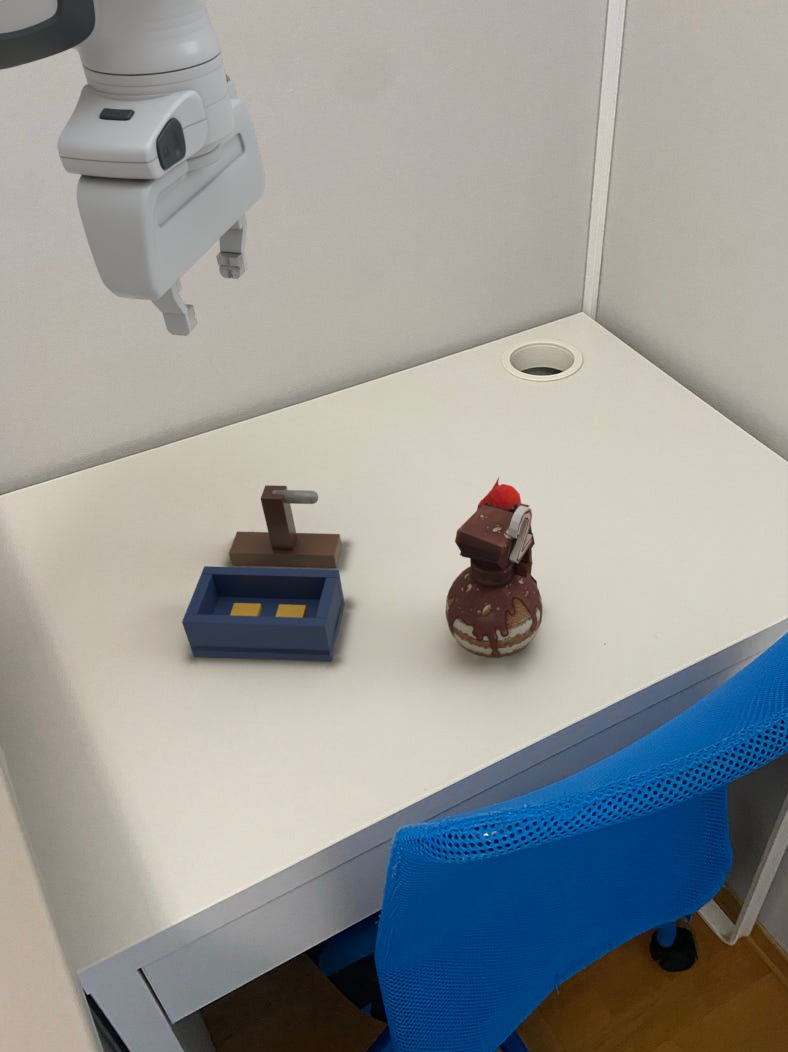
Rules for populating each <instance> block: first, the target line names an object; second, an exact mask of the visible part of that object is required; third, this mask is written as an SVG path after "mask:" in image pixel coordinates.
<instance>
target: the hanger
mask: <svg viewBox="0 0 788 1052" xmlns="http://www.w3.org/2000/svg"><path fill="white" fill-rule="evenodd" d="M318 501H319V494H318V492H316V491H315V490H305V489H303V490H302V489H301V490H300V489H288V486H287V485H269V484H268V485H267V484H265V485H264V488H263V490H262V493H261V496H260V502H261V503H260V504H261V507H262V512H263V516H264V519H265V524H266V529H267V531H236V533H235V535H234V539H233V541H232V544H231V547H230V549H229V551H228V555H229V558H230V562H231V565H232V566H259V567H262V566H263V567H296V568H297V567H301V568H334V569H335V568H337V567H338V562H339V558H340V554H341V551H342V538H341V534H340V533H316V532H315V533H313V532H297V529H296V525H295V519H294V515H293V510H292V504H294V505H314V504H317V502H318Z"/></svg>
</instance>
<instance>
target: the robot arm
mask: <svg viewBox="0 0 788 1052" xmlns="http://www.w3.org/2000/svg"><path fill="white" fill-rule="evenodd" d="M70 49H72V50H73V49H74V50H76V51H77V52H78V55H79V59H80V62H81V67H82V69H83V72H84V75H85V79H86V83H87V84H86V83H85V84H84V86H83V87H82V89H81V91H80V94H79V96H78V97H79V98H78V100H77V102H76V105H75V107H74V110H73V111H72V113H71V115H70V117H69V119H68V121H67V123H66V124H65V125H64V127H63V129H62V131H61V132H60V134H59V136H58V139H57V151H58V155H59V158H60V161H61V164H62V166H63V168H64V170H65V171H66V172H67V173H69V174H73V175H79V179H78V181H77V186H76V201H77V208H78V212H79V216H80V220H81V224H82V227H83V230H84V234H85V237H86V241H87V243H88V247H89V250H90V252H91V256H92V258H93V262H94V264H95V267H96V269H97V273H98V276H99V278H100V279H101V282H102V284H103V285H104V286H105V287H106V288H107V289H108V291H110V292H111V293H112V294H113V295H115V296H116V297H119V298H122V299H131V300H139V301H140V300H141V301H151V302H152V304H153V305H154V306H155V307H156V308H157V309H158V311H160V313H162V316H163V320H164V324H165V327H166V330H167V331H168V333H169V334H171V335H172V336H181V337H187V336H189V335H190V333H191V332H192V331H193V330H194V329H195V328H196V327H197V326H198V325H197V324H198V319H197V317H196V311H195V306H194V304H188V303H186V302H184V300H183V298H182V297H181V295H180V294H179V293H180V292H181V291H183V290H182V289H183V287H182V286H183V285H182V282H181V278H182V277H183V276H184V275H185V274H186V273H187V272H188V271H189V270H190V269H191V268H192V267H193V266H194V265H195V264H196V263H197V262H198V261H199V260H200V259H201V258H202V257H203V256H204V255H205V254H206V253H207V252H208V251H210V249H211V248H212V247H213V246H214V245H215V244H216V243H217V242H218V241H219V252H218V254H216V256H215V257H216V261H217V262H216V263H217V265H218V267H219V268H218V269H219V274H220V276H221V277H222V278H225V279H233V280H239V279H240V278H241V277H242V276H243V275H244V274H245V273H246V272H247V270H248V263H247V258H246V252H245V249H246V241H247V229H248V222H247V216H246V213H247V212H248V211H249V210H250V209H251V208H252V207H253V206H254V205H255V204H256V203H257V202H258V201H259V200H260V199H261V198H262V197H263V195H264V194H265V187H266V186H265V183H266V174H265V169H264V163H263V159H262V155H261V150H260V146H259V142H258V138H257V134H256V130H255V127H254V123H253V120H252V116H251V113H250V111H249V108H248V107H247V105H246V103H245V102H244V101H243V100H242V99H240V98H239V96H238V91H237V87H236V84H235V82H234V80H232V79H231V78H230V76H229V75H228V74H226V70H225V63H224V60H223V59H224V58H223V53H222V48H221V44H220V40H219V38H218V35H217V33H216V31H215V28H214V27H213V25H212V21H211V18H210V16H209V12H208V8H207V2H206V0H0V71H2V70H6V69H7V70H8V69H13V68H15V67H20V66H22V65H26V64H30V63H33V62H36V61H40V60H44V59H46V58H49V57H53V56H55V55H58V54H61V53H64V52H66V51H69V50H70Z"/></svg>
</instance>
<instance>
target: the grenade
mask: <svg viewBox="0 0 788 1052" xmlns="http://www.w3.org/2000/svg"><path fill="white" fill-rule="evenodd" d="M499 480H500V477H498V478H497V480H496V481H495V483H494V485H493V487H492V488H491V490H489V492H488V493H487V494H486V495H485V496H484V497H483V498H482V499H480V501H479V503H478V504H477V508H476V511H475V512H474V513H472V515H471V516H470V517H469V518H467V520H466V521H465V522H464V523H463V524H462V525H460V527H458V528H457V530H456V535H455V538H454V539H455V540H454V542H455V545H456V546H457V547H458V549H459V552H460V553H459V556H460V557H463V558H465V559H469V561H470V562H469V563H470V566H468V567H467V568H465V569H464V570H462V571H461V573H460V574H458V575H457V577H456V578H455V579H454V581H453V582H452V583H451V586H450V588H449V590H448V592H447V595H446V601H445V617H446V622H447V625H448V630H449V632H450V635H452V637H453V639H454V640H455V642H457V643H458V644H459V645H460V646H461V647H462V649H464V650H466V651H467V652H470V654H473V655H475V656H478V657H482V658H486V659H501V658H507V657H510V656H512V655H515V654H517V653H520V652H521V651H522V650H524V649H526V648H527V647H528V646H529V644H531V642H532V641H533V640H534V638H536V636H537V634H538V632H539V629H540V626H541V623H542V619H543V597H542V595H541V593H540V589H539V587H538V581H537V580H536V579H535V578H534V577H533V575H532V569H533V556H532V555H533V551H532V550H533V549H532V548H533V547H534V546H535V538H534V533H533V531H532V520H533V519H532V518H533V510H532V508H531V507H530V506H531V505H529V504H525V503H522V500H521V494H520V493H519V491H518V490H517V489H516V488H515V487H514V486H513V485H509V484H506V483H502V484H499Z"/></svg>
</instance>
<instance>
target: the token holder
mask: <svg viewBox="0 0 788 1052" xmlns="http://www.w3.org/2000/svg"><path fill="white" fill-rule="evenodd" d="M345 606H346V603H345V597H344V591H343V585H342V580H341V574H340V570H339V569H317V568H287V567H286V568H285V567H284V568H281V567H280V568H279V567H251V566H250V567H248V566H247V567H246V566H245V567H243V566H210V565H209V566H208V565H204V566H203V567H202V571H201V574H200V576H199V579H198V581H197V584H196V586H195V589H194V591H193V594H192V595H191V598H190V601H189V603H188V606H187V609H186V611H185V613H184V615H183V618H182V621H181V624H182V626H183V629H184V630H183V631H184V632H185V636H186V638H187V640H188V644H189V647H190V650H191V652H192V655H193V657H195V658H218V659H219V658H220V659H222V658H223V659H245V660H247V659H251V660H280V661H306V662H307V661H311V662H333V661H332V660H333V656H334V652H335V649H336V644H337V640H338V635H339V632H340V627H341V624H342V618H343V615H344V610H345Z"/></svg>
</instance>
